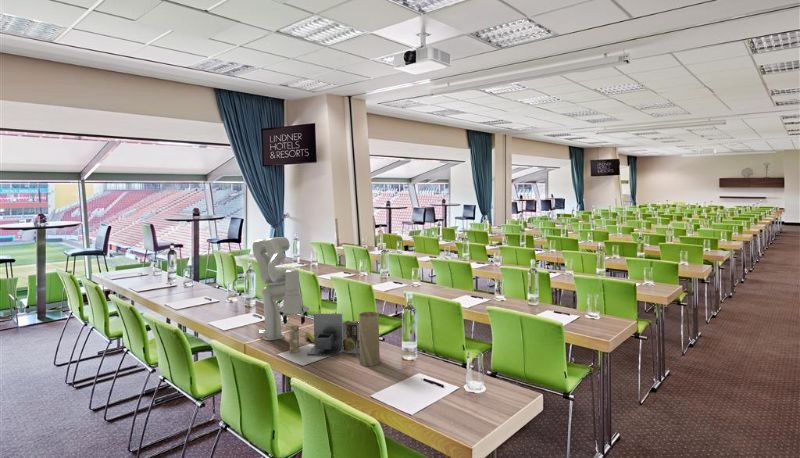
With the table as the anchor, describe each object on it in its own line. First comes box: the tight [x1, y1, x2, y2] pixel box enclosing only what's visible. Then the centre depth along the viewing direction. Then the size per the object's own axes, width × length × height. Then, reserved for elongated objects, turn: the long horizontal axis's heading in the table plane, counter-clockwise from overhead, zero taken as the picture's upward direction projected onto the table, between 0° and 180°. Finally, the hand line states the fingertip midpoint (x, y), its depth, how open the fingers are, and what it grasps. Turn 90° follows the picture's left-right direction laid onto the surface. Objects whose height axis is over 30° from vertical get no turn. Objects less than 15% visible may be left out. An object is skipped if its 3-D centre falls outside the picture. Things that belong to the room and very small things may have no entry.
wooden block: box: [288, 325, 300, 354], centre depth 261 cm, size 4×4×14 cm
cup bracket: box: [306, 312, 344, 357], centre depth 261 cm, size 16×16×19 cm
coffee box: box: [342, 320, 360, 355], centre depth 260 cm, size 9×6×16 cm
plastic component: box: [304, 331, 315, 344], centre depth 285 cm, size 20×7×10 cm
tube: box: [358, 311, 381, 367], centre depth 243 cm, size 10×10×25 cm
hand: (294, 323), depth 260 cm, fingers open, 9 cm apart
